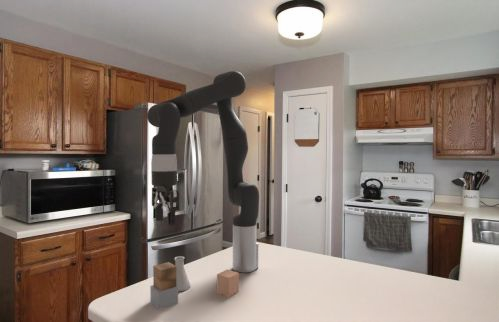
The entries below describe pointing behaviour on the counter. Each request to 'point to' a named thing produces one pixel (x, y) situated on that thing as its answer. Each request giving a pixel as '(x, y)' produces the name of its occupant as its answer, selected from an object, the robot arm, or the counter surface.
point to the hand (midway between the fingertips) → (165, 222)
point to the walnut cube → (164, 276)
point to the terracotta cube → (227, 283)
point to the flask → (181, 275)
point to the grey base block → (164, 297)
